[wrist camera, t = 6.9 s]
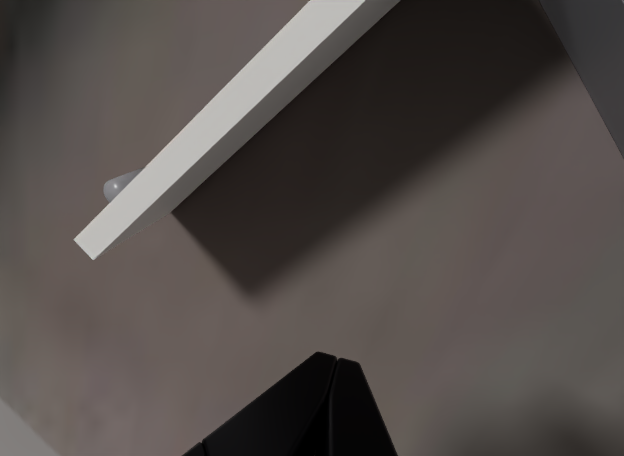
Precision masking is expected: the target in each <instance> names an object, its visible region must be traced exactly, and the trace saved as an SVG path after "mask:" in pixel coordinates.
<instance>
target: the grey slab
mask: <svg viewBox="0 0 624 456" xmlns="http://www.w3.org/2000/svg"><path fill="white" fill-rule="evenodd" d="M539 1H540V3H541V5H542V7H543V9H544V11H545V12H546V14H547V16H548V18H549V20H550V22H551V24H552V25H553V27H554V29H555V31H556V33H557V35H558V37H559V38H560V40H561V42H562V44H563V46H564V48H565V50H566V52H567V53H568V55H569V57H570V59H571V61H572V63H573V65H574V66H575V68H576V70H577V72H578V74H579V76H580V78H581V80H582V81H583V83H584V85H585V87H586V89H587V91H588V93H589V94H590V96H591V98H592V100H593V102H594V104H595V106H596V107H597V109H598V111H599V113H600V115H601V117H602V119H603V121H604V122H605V124H606V126H607V128H608V130H609V132H610V134H611V135H612V137H613V139H614V141H615V143H616V145H617V147H618V149H619V150H620V152H621V154H622V156H623V158H624V0H539Z"/></svg>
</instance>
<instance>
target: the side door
mask: <svg viewBox="0 0 624 456" xmlns="http://www.w3.org/2000/svg"><path fill="white" fill-rule="evenodd" d="M399 1H400V0H310V1H309V2H308V3H307V4H306V5H305V6H304V7H303V8H302V9H301V10H300V11H299V12H298V13H297V14H296V15H295V16H294V17H293V18H292V19H291V20H290V21H289V22H288V23H287V24H286V25H285V26H284V27H283V28H282V29H281V30H280V31H279V33H278V34H277V35H276V36H275V37H274V38H273V39H272V40H271V41H270V42H269V43H268V44H267V45H266V46H265V47H264V48H263V49H262V50H261V51H260V52H259V53H258V54H257V55H256V56H255V57H254V58H253V59H252V60H251V61H250V62H249V63H248V64H247V65H246V66H245V67H244V68H243V69H242V70H241V71H240V72H239V73H238V74H237V75H236V76H235V77H234V78H233V79H232V80H231V81H230V82H229V83H228V84H227V85H226V86H225V87H224V88H223V89H222V90H221V91H220V92H219V93H218V94H217V95H216V96H215V97H214V98H213V99H212V100H211V101H210V102H209V103H208V104H207V105H206V106H205V107H204V108H203V109H202V110H201V111H200V112H199V113H198V114H197V115H196V116H195V117H194V118H193V119H192V120H191V122H190V123H189V124H188V125H187V126H186V127H185V128H184V129H183V130H182V131H181V132H180V133H179V134H178V135H177V136H176V137H175V138H174V139H173V140H172V141H171V142H170V143H169V144H168V145H167V146H166V147H165V148H164V149H163V150H162V151H161V152H160V153H159V154H158V155H157V156H156V157H155V158H154V159H153V160H152V161H151V162H150V163H149V164H148V165H147V166H146V167H143V168H140V169H138V170H135V171H132V172H130V173H127V174H125V175H122V176H119V177H117V178H114V179H111V180H109V181H107V182H106V183H105V185H104V195H105V197H106V199H107V200H108V201H109V202H110V203H109V204H108V205H107V206H106V207H105V208H104V209H103V210H102V212H101V213H100V214H99V215H98V216H97V217H96V218H95V219H94V220H93V221H92V222H91V223H90V224H89V225H88V226H87V227H86V228H85V229H84V230H83V231H82V232H81V233H80V234H79V235H78V236H77V237H76V238H75V239H74V241H75V242H76V243H77V244H78V245H79V246H80V247H81V248H82V249H83V250H84V251H85V252H86V253H87V254H88V255H89V256H90V258H91V259H92V260H94V259H96V258H98V257H99V256H101V255H103V254H104V253H106V252H108V251H109V250H111V249H112V248H114V247H116V246H117V245H119V244H121V243H122V242H124V241H126V240H127V239H129V238H130V237H132V236H134V235H135V234H137V233H139V232H140V231H142V230H144V229H145V228H147V227H149V226H150V225H152V224H153V223H155V222H157V221H158V220H160V219H162V218H163V217H165V216H167V215H168V214H169V213H170V212H171V211H172V210H173V209H175V208H176V207H177V206H178V205H179V204H180V203H181V202H182V201H183V200H184V199H185V198H187V197H188V196H189V195H190V194H191V193H192V192H193V191H194V190H195V189H196V188H197V187H198V186H200V185H201V184H202V183H203V182H204V181H205V180H206V179H207V178H208V177H209V176H210V175H211V174H213V173H214V172H215V171H216V170H217V169H218V168H219V167H220V166H221V165H222V164H223V163H225V162H226V161H227V160H228V159H229V158H230V157H231V156H232V155H233V154H234V153H235V152H236V151H238V150H239V149H240V148H241V147H242V146H243V145H244V144H245V143H246V142H247V141H248V140H249V139H251V138H252V137H253V136H254V135H255V134H256V133H257V132H258V131H259V130H260V129H261V128H262V127H264V126H265V125H266V124H267V123H268V122H269V121H270V120H271V119H272V118H273V117H274V116H276V115H277V114H278V113H279V112H280V111H281V110H282V109H283V108H284V107H285V106H286V105H287V104H289V103H290V102H291V101H292V100H293V99H294V98H295V97H296V96H297V95H298V94H299V93H300V92H302V91H303V90H304V89H305V88H306V87H307V86H308V85H309V84H310V83H311V82H312V81H314V80H315V79H316V78H317V77H318V76H319V75H320V74H321V73H322V72H323V71H324V70H325V69H327V68H328V67H329V66H330V65H331V64H332V63H333V62H334V61H335V60H336V59H337V58H338V57H340V56H341V55H342V54H343V53H344V52H345V51H346V50H347V49H348V48H349V47H350V46H351V45H353V44H354V43H355V42H356V41H357V40H358V39H359V38H360V37H361V36H362V35H363V34H365V33H366V32H367V31H368V30H369V29H370V28H371V27H372V26H373V25H374V24H375V23H376V22H378V21H379V20H380V19H381V18H382V17H383V16H384V15H385V14H386V13H387V12H388V11H389V10H391V9H392V8H393V7H394V6H395V5H396V4H397V3H398V2H399Z"/></svg>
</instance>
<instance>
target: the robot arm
mask: <svg viewBox="0 0 624 456" xmlns="http://www.w3.org/2000/svg"><path fill="white" fill-rule="evenodd" d="M314 455H315V456H398V455H397V452H396V450H395V448H394V445H393V443H392V440H391V438H390V435H389V433H388V431H387V428H386V426H385V423H384V421H383V419H382V416H381V414H380V411H379V409H378V406H377V404H376V402H375V399H374V397H373V394H372V392H371V390H370V387H369V385H368V382H367V380H366V377H365V375H364V373H363V370H362V368H361V365H360V364H359V363H358V362H355V361H352V360H348V359H344V358H339V359H338V361H337V357H336V356H333V355H330V354H326V353H323V352H316V353H314V354H313V355H312V356H310V357H309V358H308V359H306V360H305V361H304V362H303V363H301V364H300V365H299V366H297V367H296V368H295V369H294V370H292V371H291V372H290V373H288V374H287V375H286V376H285V377H283V378H282V379H281V380H279V381H278V382H277V383H276V384H274V385H273V386H272V387H270V388H269V389H268V390H266V391H265V392H264V393H263V394H261V395H260V396H259V397H257V398H256V399H255V400H254V401H252V402H251V403H250V404H248V405H247V406H246V407H244V408H243V409H242V410H241V411H239V412H238V413H237V414H235V415H234V416H233V417H232V418H230V419H229V420H228V421H226V422H225V423H224V424H223V425H221V426H220V427H219V428H217V429H216V430H215V431H213V432H212V433H211V434H210V435H208V436H207V437H206V438H204V439H203V440H202V443H201V442H199V443H198V444H196V445H195V446H194V447H192V448H191V449H190V450H189V451H187V452H186V453H185V454H183V455H182V456H314Z"/></svg>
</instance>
